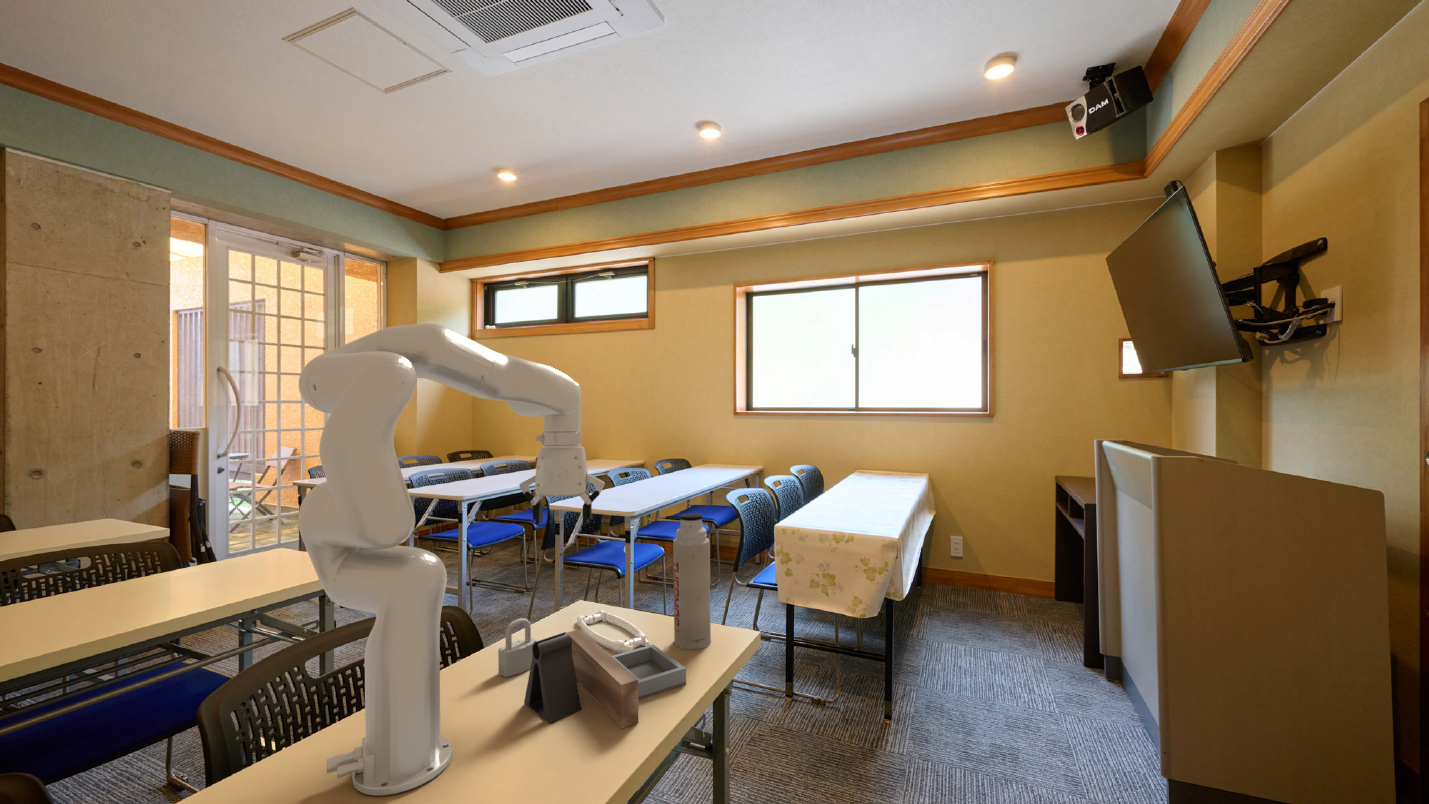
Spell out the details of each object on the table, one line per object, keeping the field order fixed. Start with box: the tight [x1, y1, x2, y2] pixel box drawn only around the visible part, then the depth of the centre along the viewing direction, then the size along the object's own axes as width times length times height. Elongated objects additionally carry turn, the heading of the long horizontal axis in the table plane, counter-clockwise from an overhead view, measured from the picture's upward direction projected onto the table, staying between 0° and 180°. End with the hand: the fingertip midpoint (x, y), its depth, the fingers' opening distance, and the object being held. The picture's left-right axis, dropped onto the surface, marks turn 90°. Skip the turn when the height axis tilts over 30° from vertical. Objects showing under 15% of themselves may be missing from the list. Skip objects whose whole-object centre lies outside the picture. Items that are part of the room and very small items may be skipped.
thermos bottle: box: [672, 512, 712, 650], centre depth 125 cm, size 8×8×28 cm
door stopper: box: [523, 631, 583, 724], centre depth 98 cm, size 9×6×12 cm, turn 45°
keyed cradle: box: [611, 644, 687, 701], centre depth 108 cm, size 10×13×3 cm
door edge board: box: [566, 628, 639, 729], centre depth 103 cm, size 3×26×7 cm, turn 34°
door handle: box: [576, 610, 651, 654], centre depth 129 cm, size 3×10×25 cm
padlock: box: [497, 617, 538, 678], centre depth 112 cm, size 7×4×10 cm, turn 140°
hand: (562, 523), depth 117 cm, fingers open, 9 cm apart
